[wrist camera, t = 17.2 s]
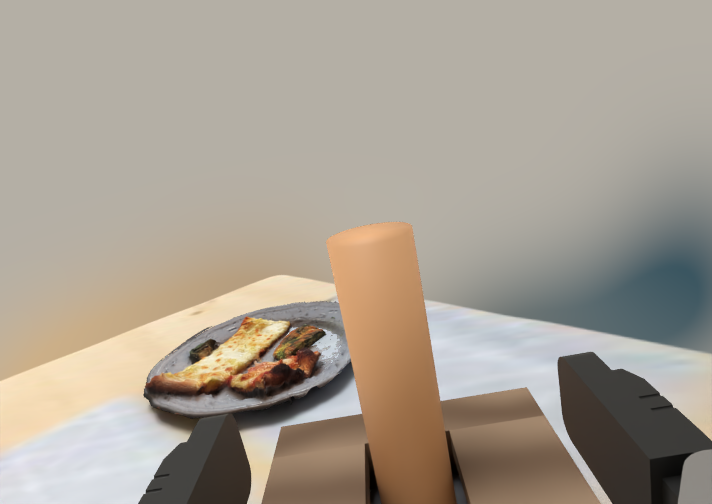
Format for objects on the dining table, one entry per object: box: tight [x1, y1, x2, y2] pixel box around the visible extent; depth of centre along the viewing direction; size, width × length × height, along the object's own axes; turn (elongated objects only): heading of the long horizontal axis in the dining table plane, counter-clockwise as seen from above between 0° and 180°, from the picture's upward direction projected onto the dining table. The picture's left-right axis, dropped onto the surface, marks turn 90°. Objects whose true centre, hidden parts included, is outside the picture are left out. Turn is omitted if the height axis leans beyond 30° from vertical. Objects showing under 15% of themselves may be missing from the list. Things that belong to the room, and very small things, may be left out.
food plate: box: [144, 301, 351, 419], centre depth 52 cm, size 25×23×4 cm
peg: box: [326, 222, 467, 504], centre depth 24 cm, size 8×8×18 cm
